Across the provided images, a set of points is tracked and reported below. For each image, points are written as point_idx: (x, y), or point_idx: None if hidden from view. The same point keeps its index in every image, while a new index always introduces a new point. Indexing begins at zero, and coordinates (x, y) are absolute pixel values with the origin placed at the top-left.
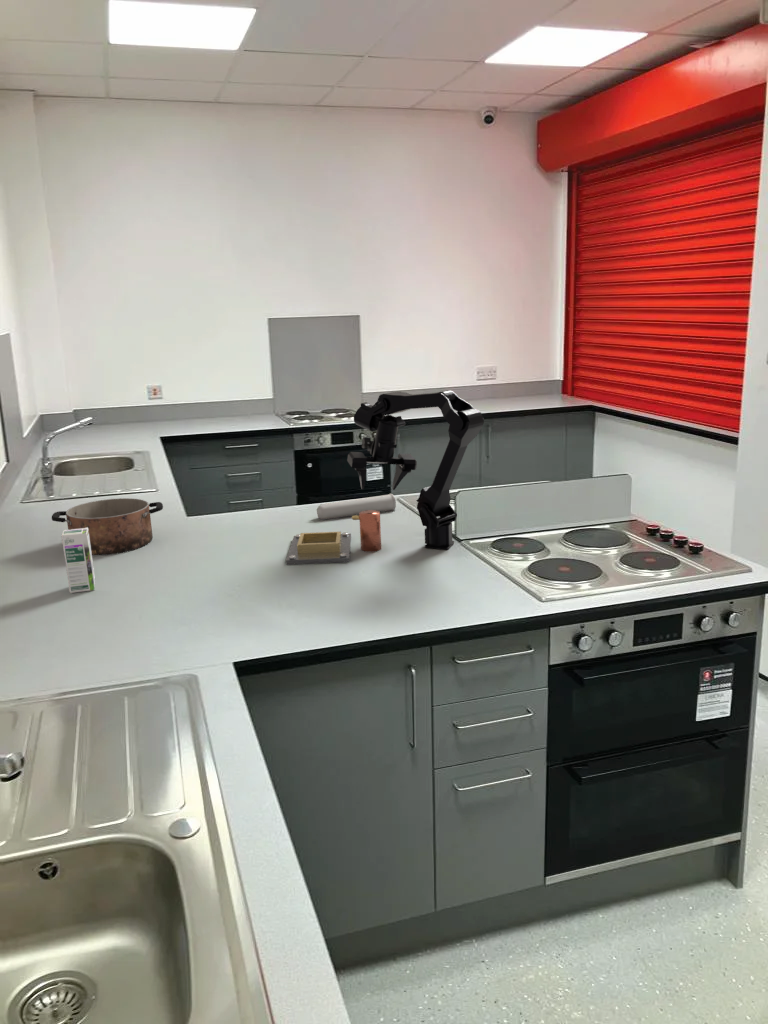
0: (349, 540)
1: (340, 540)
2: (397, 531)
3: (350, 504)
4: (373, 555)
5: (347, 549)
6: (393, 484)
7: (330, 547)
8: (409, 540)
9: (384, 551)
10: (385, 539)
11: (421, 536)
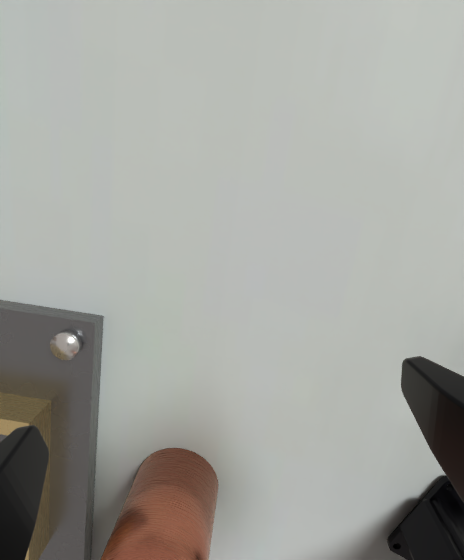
0: (86, 423)
1: None
2: (336, 276)
3: None
4: None
5: (77, 527)
6: (436, 418)
7: None
8: (354, 428)
9: (223, 526)
10: (254, 385)
11: None
